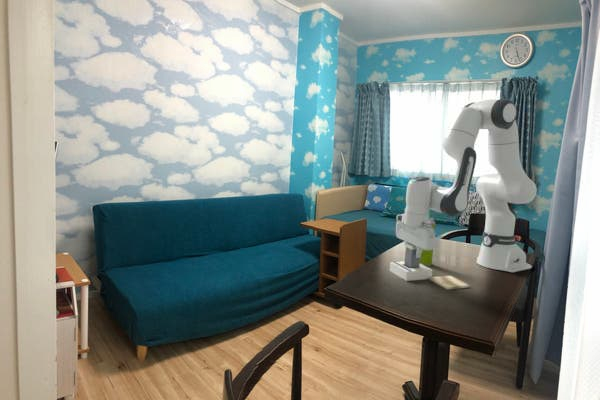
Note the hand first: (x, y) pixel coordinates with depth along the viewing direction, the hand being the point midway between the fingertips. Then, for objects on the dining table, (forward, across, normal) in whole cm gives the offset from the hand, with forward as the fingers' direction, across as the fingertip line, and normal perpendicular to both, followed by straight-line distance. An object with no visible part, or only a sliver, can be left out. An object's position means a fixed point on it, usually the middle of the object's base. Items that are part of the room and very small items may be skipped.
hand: (412, 255), depth 146 cm
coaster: (+8, -11, -8) cm, 16 cm away
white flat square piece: (+8, 0, 0) cm, 8 cm away
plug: (+5, 0, 0) cm, 5 cm away
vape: (+8, +11, -14) cm, 20 cm away
